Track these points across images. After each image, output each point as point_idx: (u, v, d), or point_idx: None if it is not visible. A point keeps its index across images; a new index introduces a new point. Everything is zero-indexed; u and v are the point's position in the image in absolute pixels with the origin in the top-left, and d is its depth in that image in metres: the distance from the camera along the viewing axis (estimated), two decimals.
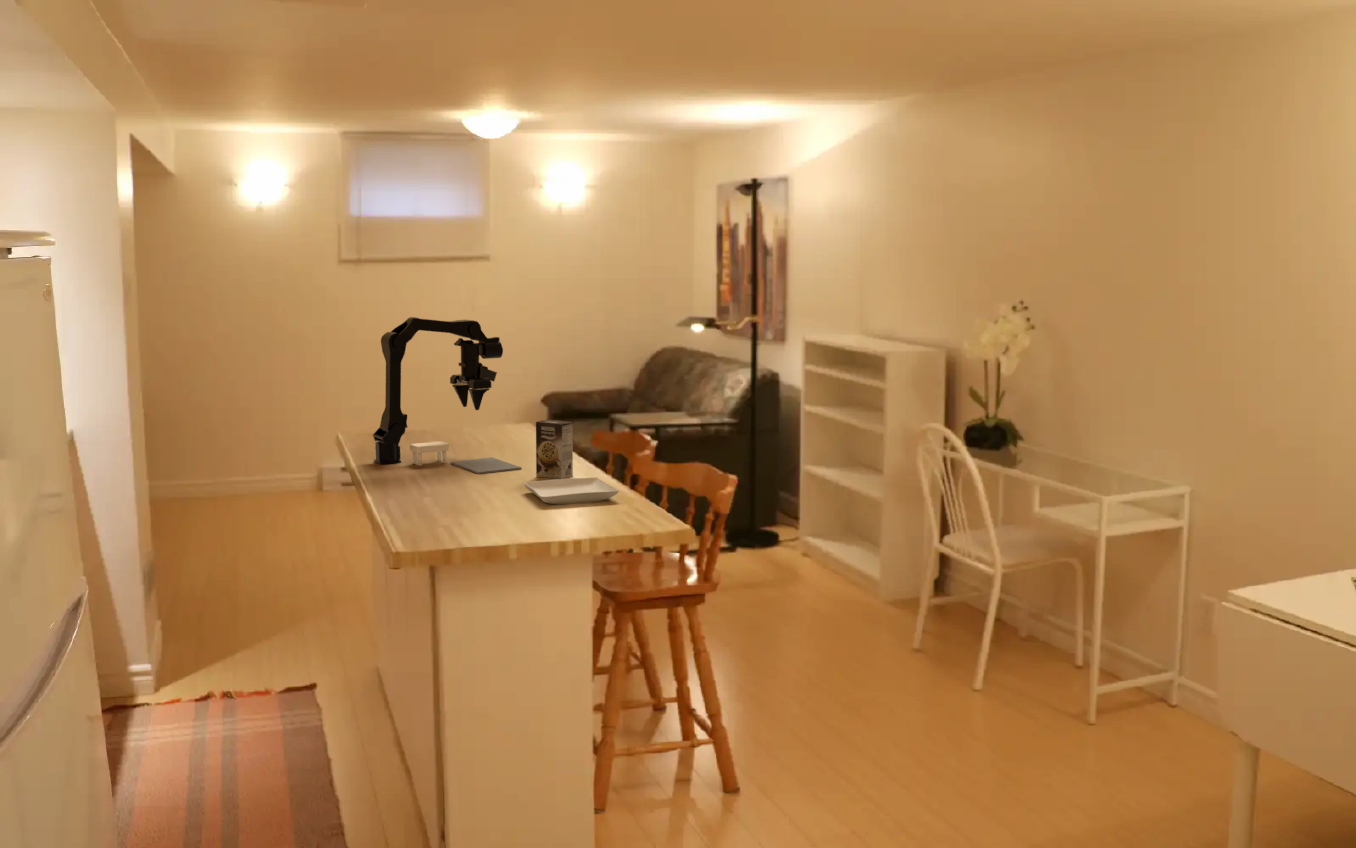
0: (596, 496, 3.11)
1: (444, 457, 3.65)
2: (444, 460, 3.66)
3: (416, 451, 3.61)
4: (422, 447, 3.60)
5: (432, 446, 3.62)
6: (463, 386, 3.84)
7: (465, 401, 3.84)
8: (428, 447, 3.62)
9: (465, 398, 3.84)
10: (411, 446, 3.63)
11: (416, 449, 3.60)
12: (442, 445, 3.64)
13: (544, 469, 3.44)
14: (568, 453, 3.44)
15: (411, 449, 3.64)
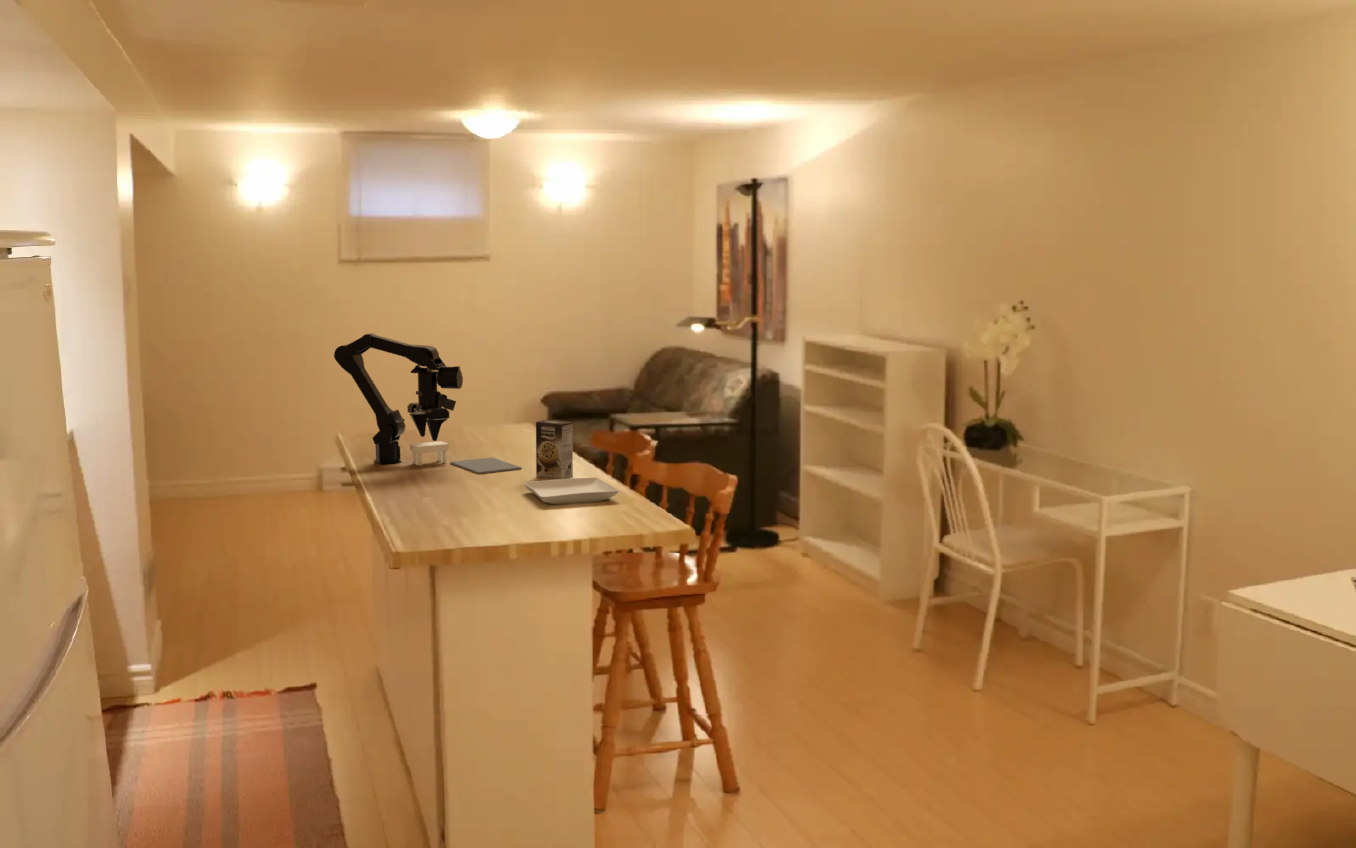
0: (596, 496, 3.11)
1: (444, 457, 3.65)
2: (444, 460, 3.66)
3: (416, 451, 3.61)
4: (422, 447, 3.60)
5: (432, 446, 3.62)
6: (421, 415, 3.68)
7: (422, 430, 3.68)
8: (428, 447, 3.62)
9: (422, 428, 3.68)
10: (411, 446, 3.63)
11: (416, 449, 3.60)
12: (442, 445, 3.64)
13: (544, 469, 3.44)
14: (568, 453, 3.44)
15: (411, 449, 3.64)
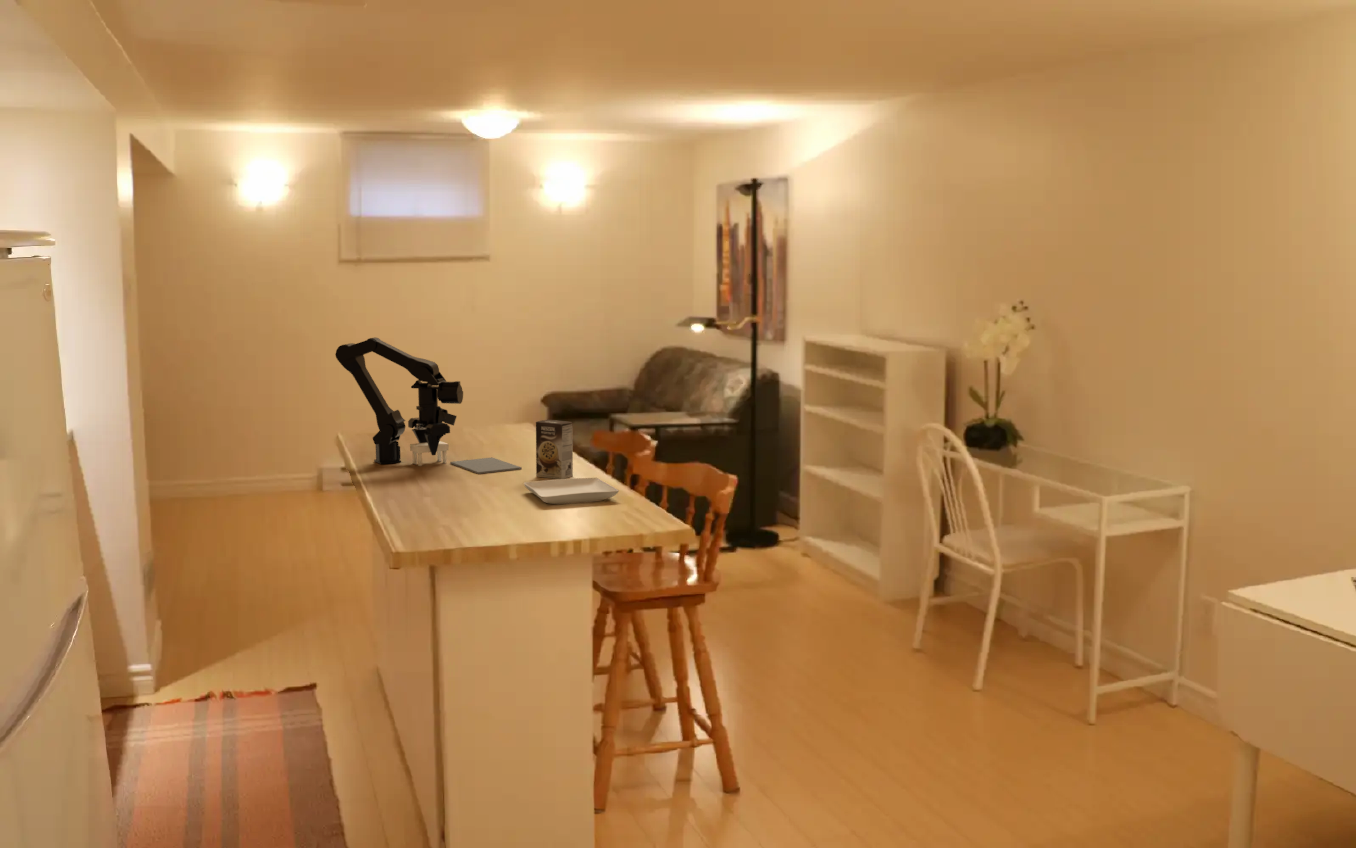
0: (596, 496, 3.11)
1: (444, 457, 3.65)
2: (444, 460, 3.66)
3: (416, 451, 3.61)
4: (422, 447, 3.60)
5: None
6: (423, 431, 3.67)
7: None
8: (428, 447, 3.62)
9: None
10: (411, 446, 3.63)
11: (416, 449, 3.60)
12: (442, 445, 3.64)
13: (544, 469, 3.44)
14: (568, 453, 3.44)
15: (411, 449, 3.64)
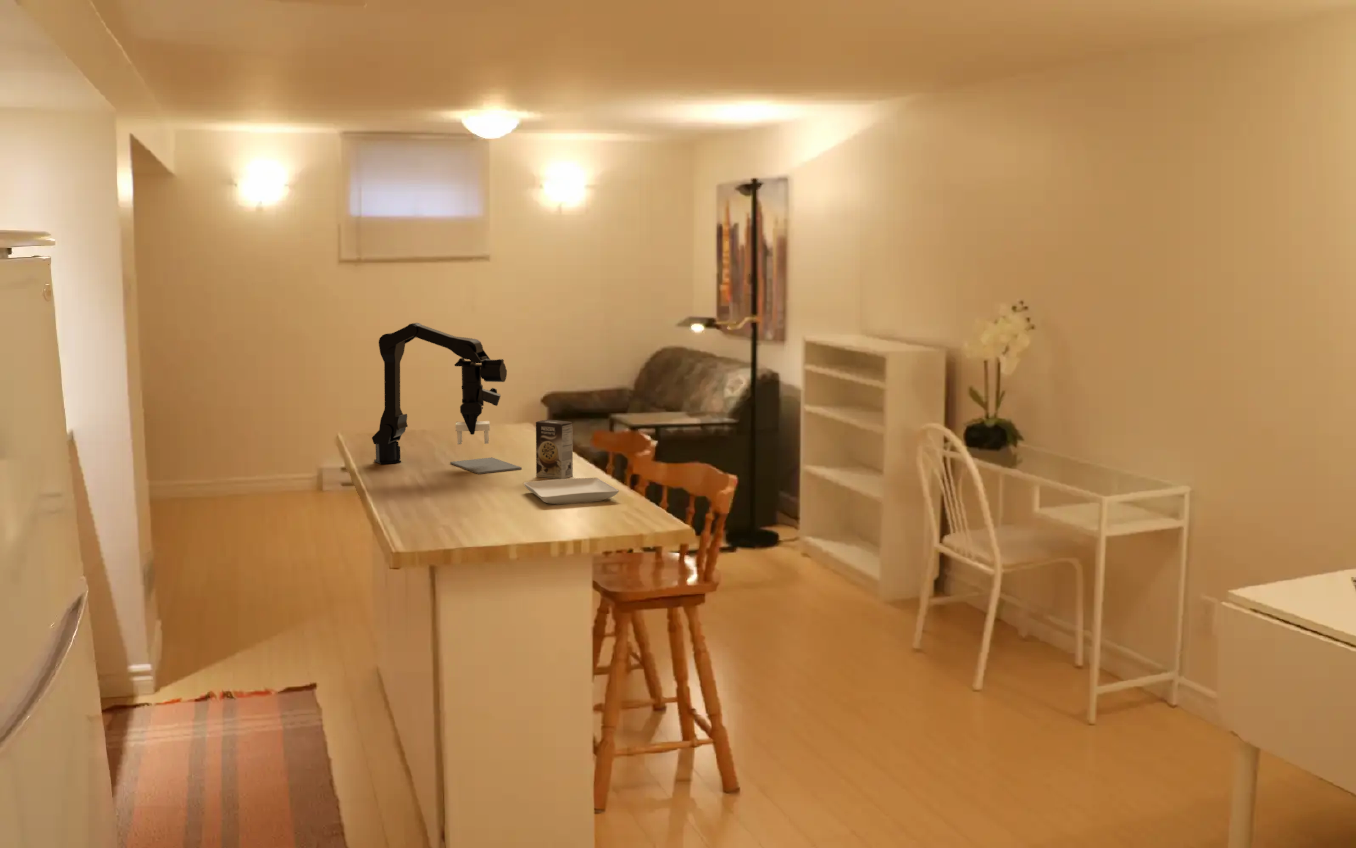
0: (596, 496, 3.11)
1: (485, 437, 3.58)
2: (485, 440, 3.58)
3: None
4: (460, 425, 3.56)
5: None
6: None
7: None
8: None
9: None
10: None
11: None
12: (482, 425, 3.57)
13: (544, 469, 3.44)
14: (568, 453, 3.44)
15: None
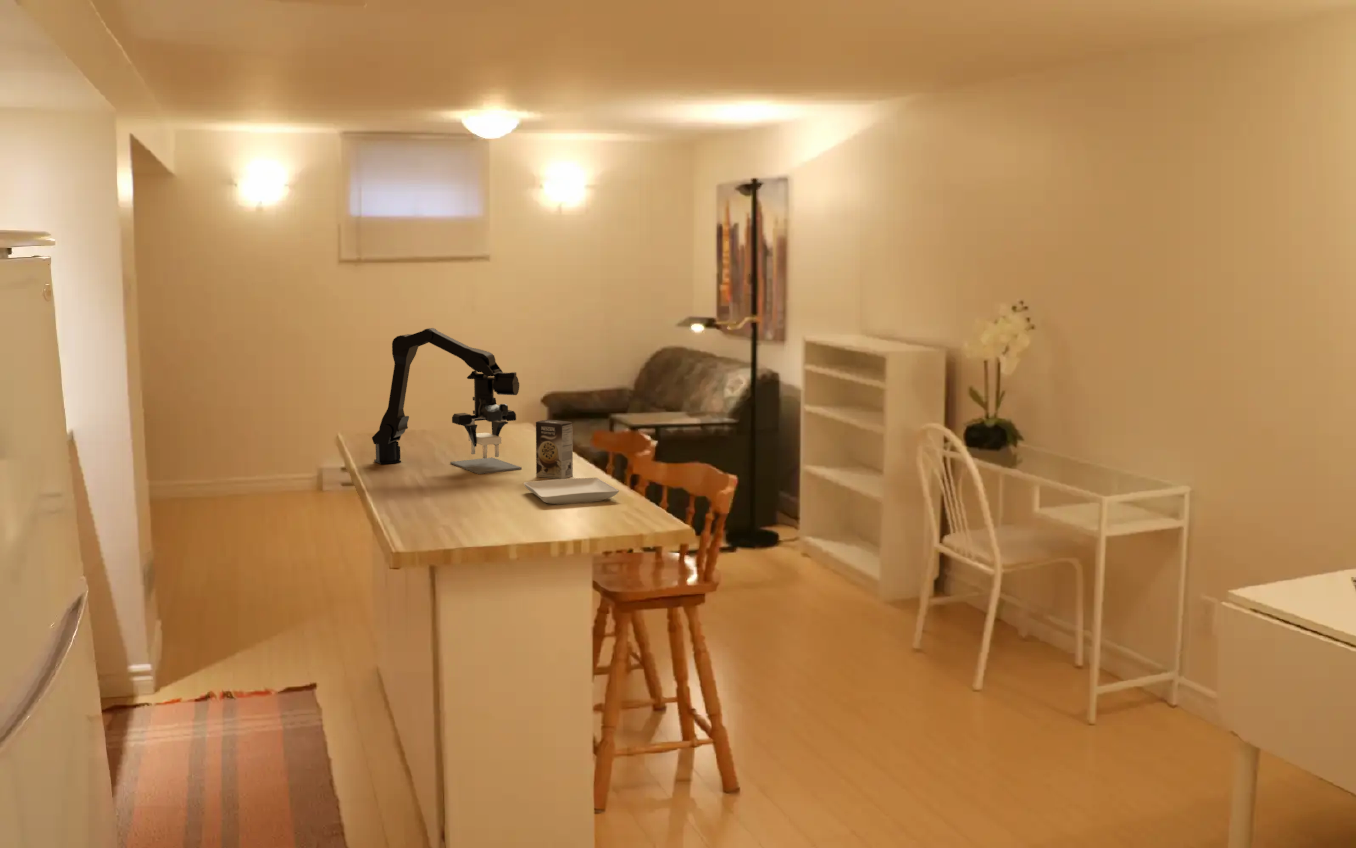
0: (596, 496, 3.11)
1: None
2: None
3: None
4: None
5: None
6: (495, 423, 3.61)
7: None
8: None
9: None
10: None
11: None
12: (480, 438, 3.55)
13: (544, 469, 3.44)
14: (568, 453, 3.44)
15: None
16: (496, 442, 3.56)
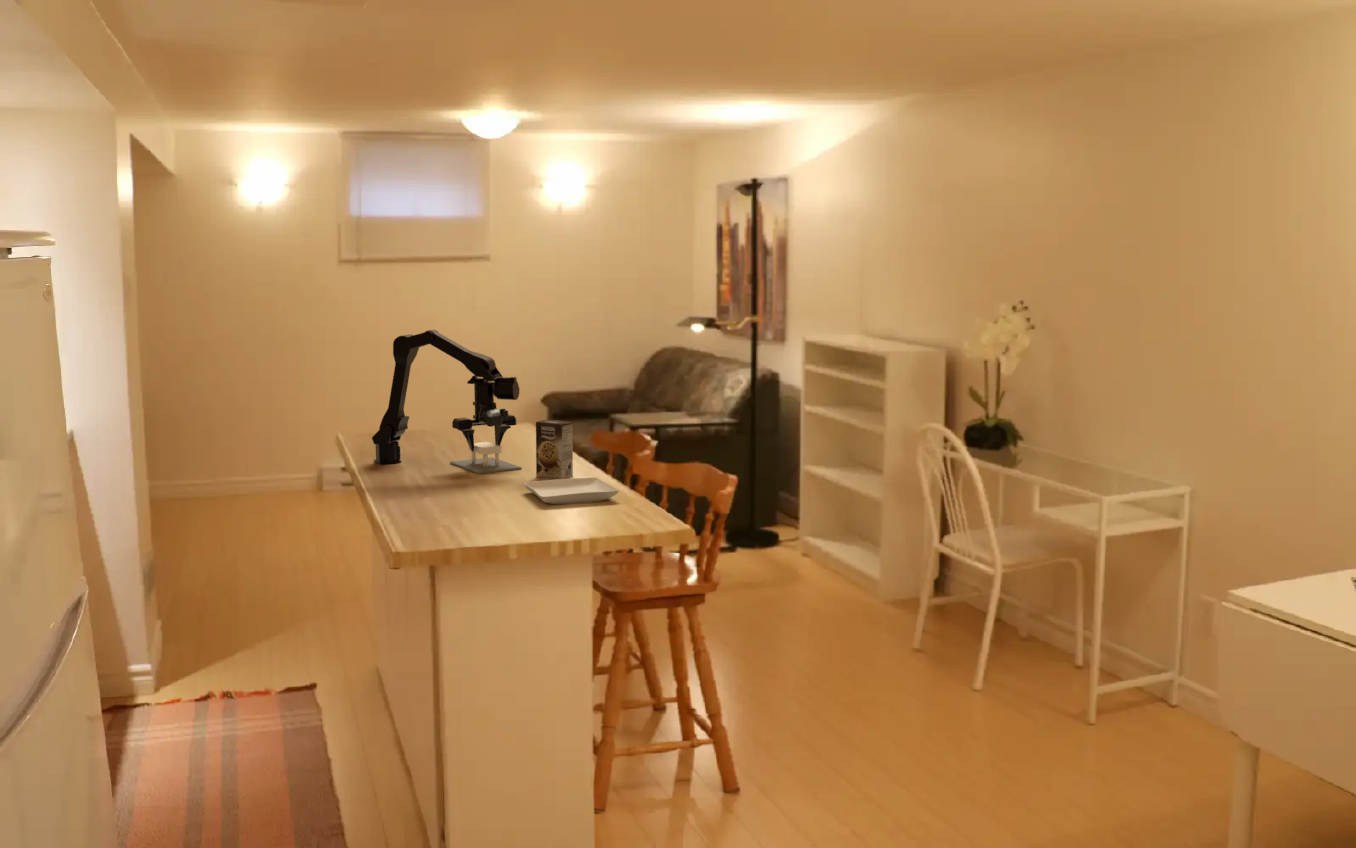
0: (596, 496, 3.11)
1: (483, 461, 3.56)
2: (483, 464, 3.56)
3: None
4: None
5: (475, 446, 3.59)
6: (498, 427, 3.62)
7: (497, 442, 3.62)
8: None
9: (497, 440, 3.62)
10: None
11: None
12: (480, 448, 3.56)
13: (544, 469, 3.44)
14: (568, 453, 3.44)
15: None
16: (496, 451, 3.57)
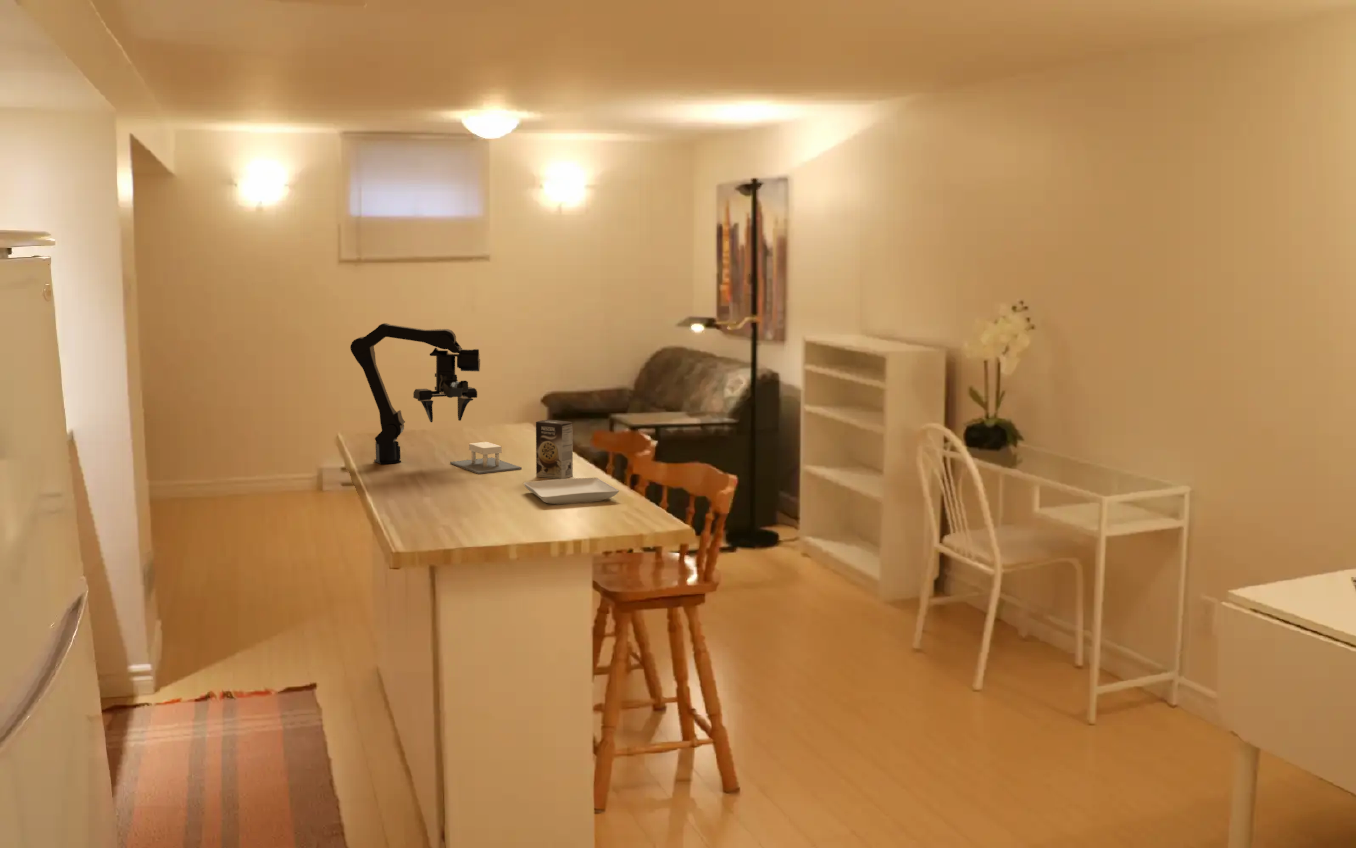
0: (596, 496, 3.11)
1: (483, 461, 3.56)
2: (483, 464, 3.56)
3: None
4: (471, 445, 3.61)
5: (475, 446, 3.59)
6: (460, 399, 3.69)
7: (459, 414, 3.69)
8: (473, 446, 3.60)
9: (460, 412, 3.69)
10: None
11: None
12: (480, 448, 3.56)
13: (544, 469, 3.44)
14: (568, 453, 3.44)
15: None
16: (496, 451, 3.57)
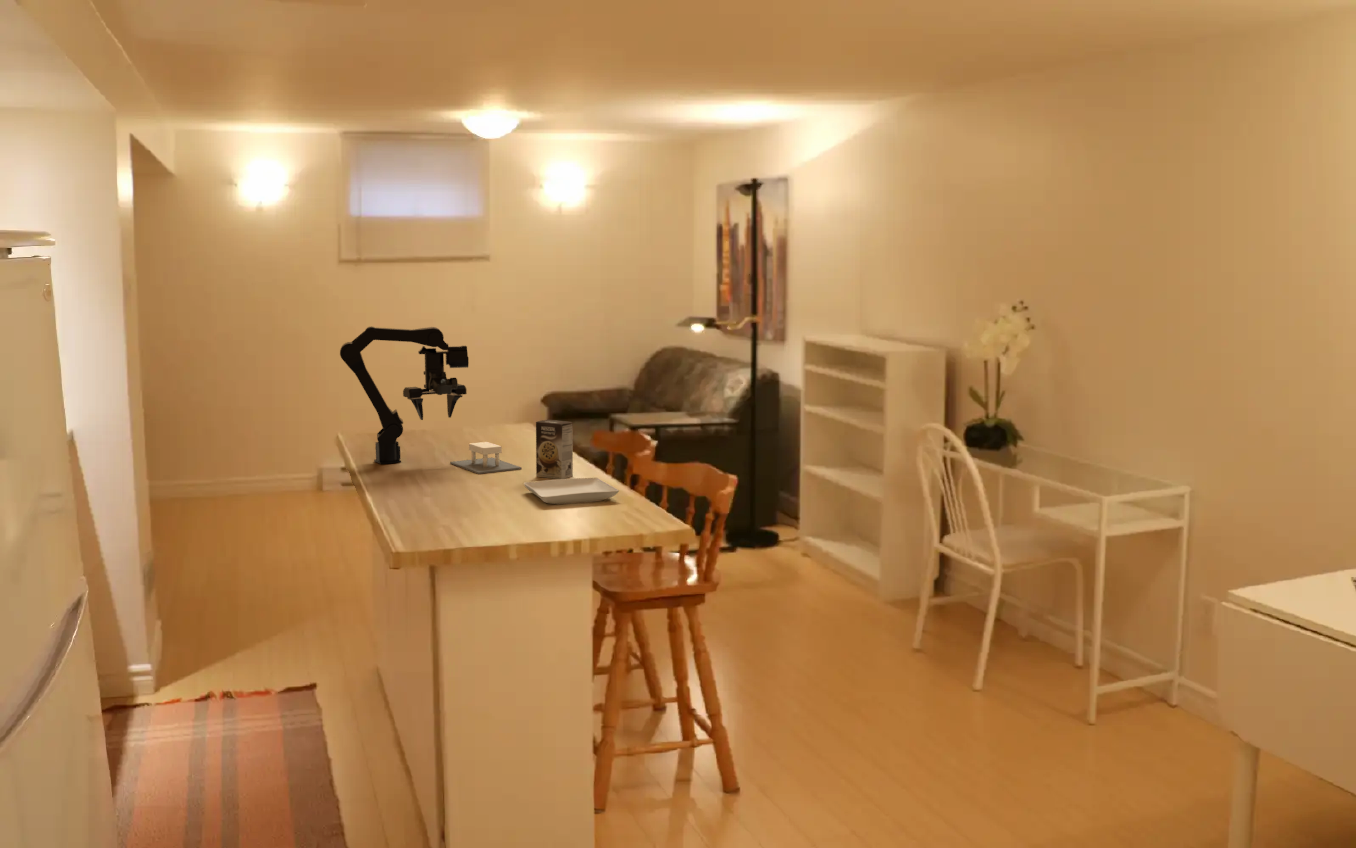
0: (596, 496, 3.11)
1: (483, 461, 3.56)
2: (483, 464, 3.56)
3: None
4: (471, 445, 3.61)
5: (475, 446, 3.59)
6: (450, 396, 3.71)
7: (449, 411, 3.71)
8: (473, 446, 3.60)
9: (449, 409, 3.71)
10: None
11: None
12: (480, 448, 3.56)
13: (544, 469, 3.44)
14: (568, 453, 3.44)
15: None
16: (496, 451, 3.57)
